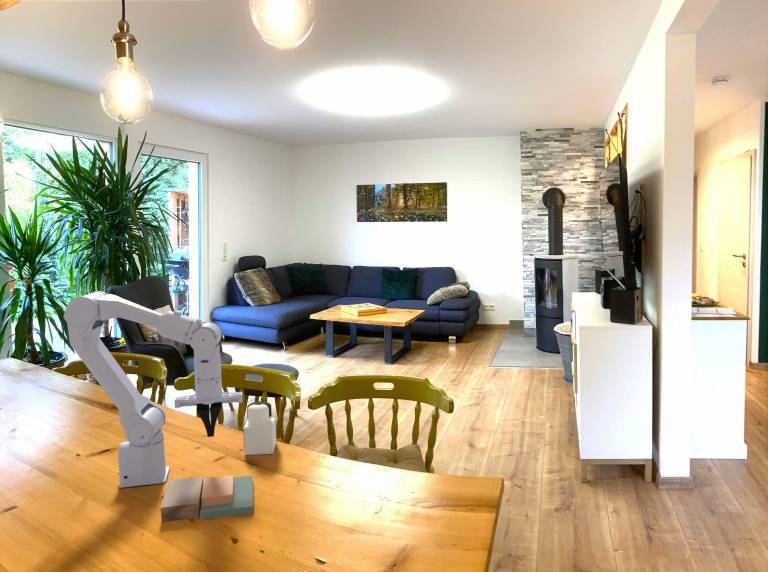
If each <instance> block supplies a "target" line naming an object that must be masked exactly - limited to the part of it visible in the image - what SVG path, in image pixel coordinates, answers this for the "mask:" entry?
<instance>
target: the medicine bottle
mask: <svg viewBox="0 0 768 572" xmlns="http://www.w3.org/2000/svg"><path fill="white" fill-rule="evenodd" d="M272 410H273V409H272V404H271V403H270V402H268V401H265V400H264V401H262V400H258V401H253V402H251V403H249V404H248V405H247V406H246V422H245V424H244V426H243V428H242V429H243V430H242V431H243V449H244V451H243V453H244V455H245V456H257V455H273V454H274V452H275V448H276V445H277V428H276V427H277V426H276V425H277V423H276V417H274V416H272V414H273V413H272Z"/></svg>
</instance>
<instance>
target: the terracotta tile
mask: <svg viewBox="0 0 768 572" xmlns="http://www.w3.org/2000/svg"><path fill="white" fill-rule="evenodd" d="M233 478H234V475H233V474H230V475H221V476H220V475H219V476H212V477H203V490H202V497H201V503H202V504H201V505H202V507H205V506H213V505H221V504H229V503H233V484H234V482H233Z"/></svg>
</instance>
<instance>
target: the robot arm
mask: <svg viewBox="0 0 768 572" xmlns="http://www.w3.org/2000/svg"><path fill="white" fill-rule="evenodd" d="M116 318H119V319H124V320H127V321H131V322H135V323H137V324H140V325H145V326H148V327H152V328H155V329H156V331H157V332H158V335H160V337H161V336H162V337H164V338H167V339H170V340H173V341H175V342H179V343H181V344H185V345H190V347H191V348H192V349H193V367H194V368H193V370H194V388H195V393H194V394H190V395H182V396H176V397H175V398H174V409H181V407H182V408H183V407H194V406H196V412H197V414H198V416H199V417H200V420H201V421H202V423H203V425H204V428H205V432H206V436H207V438H211V437H215V429H216V424H217V420H218V417H219V415H220V413H221V410H222V406H223V404H231V403H232V404H233V403H237V404H243V402H244V401H243V392H242V391H239V392H237V391H236V392H233V391H223V382H222V363H221V362H222V359H221V353H220V351H221V349H220V344H219V343H220V342H221V339H222V335H223V334H222V329H221V328H220V327H219V326H218V324H217V323H215V322H213V321H212V320H211V321H210V320H206V321H203V319H201V318H199V317H198V318H197V319H195V318H192V317H189V316H186V315H184V314H182V310H181V311H180V310H179V309H178V310H177V309H176V310H174V311H171V310H168V311H166V312H164V313H160V312H158V311H156V310H153V309H151V308H147V307H146V306H142V305H140V304H138V303H135V302H132V301H131V300H127V299H124V298H122V297H120V296H118V295H115V294H111V293H108V294H107V292H104V291H100V290H96V291H92V292H90V293H88V294H85V295H81V296H76V297H74V298H72V299H71V300H70V301H69V302H68V304H67V305H66V308H65V311H64V314H63V319H64V320H65V322H66V323H67V333H68V339H69V344H70V346H71V347H72V349H73V350H74V351H75V352H76V354H77V356H78V357H79V358H80V360H81V361H82V362H83V364H84V365H85V366H86V368H87V369H88V370H89V372H90V374H92V376H93V377H94V378H95V380H96V381H97V383H99V386H101V388H102V389H103V391H104V392H105V393H106V395H107V396H108V397H109V399H110V400H111V401H112V402H113V404H114V406H115V407H116V408H117V409H118V417H119V418H118V420H119V423H120V425H121V426H122V428H123V431H124V437H125V439H126V440H127V441H123V442H120V444H119V447H118V451H117V452H118V455H117V456H118V458H117V459H118V473H119V486H118V487H119V488H121V489H122V488H131V487H139V486H146V485H147V486H148V485H158V484H164V483H166V482H167V479H168V475H169V473H170V468H171V467H170V465H169V466H167V465H166V453H165V439H164V438H165V435H164V433H163V431H162V428H163V427H164V425H165V424H166V420H167V417H166V416H167V415H166V412H165V411H164V409H162V407H160V406H158V405H156V404H155V403H154V402H152V400H151V399H150V398H149V397H147V396H145V395H142V394H141V393H140V392H139V390H138V389H137V387H136V386H135V385H134V383H133V382H132V381H131V380H130V378H129V377H128V375H127V374H126V372H125V371H124V370H123V368H122V367H121V365H120V364H119V363H118V361H117V360H116V358H115V357H114V356H113V355H112V354H111V352H110V350H109V349H108V348H107V346H106V345H105V344H104V342H103V340H101V338H100V335H101V332H102V330H103V326H104V324H105V322H106V321H107V320H111V319H116Z"/></svg>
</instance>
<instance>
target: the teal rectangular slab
mask: <svg viewBox="0 0 768 572" xmlns="http://www.w3.org/2000/svg"><path fill="white" fill-rule="evenodd" d="M233 482H234V484H233V503H229V504H221V505H213V506H205V507H202V504H201V511H200V517H199V518H200V521H203V520H213V519H221V518H227V517H228V518H229V517H235V516H243V515H252V514H254V487H253V485H254V482H253V475H244V476H235V477H234V476H233Z"/></svg>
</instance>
